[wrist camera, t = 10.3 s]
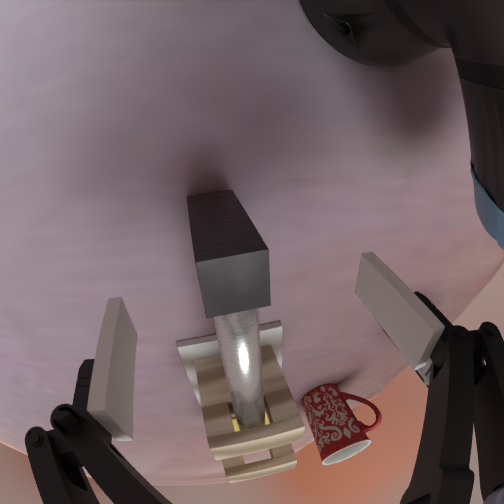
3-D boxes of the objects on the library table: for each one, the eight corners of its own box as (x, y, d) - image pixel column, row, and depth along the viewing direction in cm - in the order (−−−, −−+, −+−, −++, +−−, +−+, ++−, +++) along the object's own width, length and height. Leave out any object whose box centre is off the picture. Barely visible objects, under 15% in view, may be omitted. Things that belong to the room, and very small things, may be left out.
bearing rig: (176, 341, 34) (188, 440, 22) (279, 320, 36) (322, 409, 25) (205, 416, 44) (220, 485, 32) (279, 400, 46) (304, 465, 35)
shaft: (186, 196, 24) (195, 262, 15) (232, 189, 25) (268, 249, 16) (221, 371, 37) (238, 442, 27) (250, 364, 37) (273, 434, 28)
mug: (306, 412, 52) (331, 467, 40) (288, 399, 47) (314, 463, 35) (361, 380, 51) (392, 433, 39) (350, 363, 46) (387, 423, 34)
